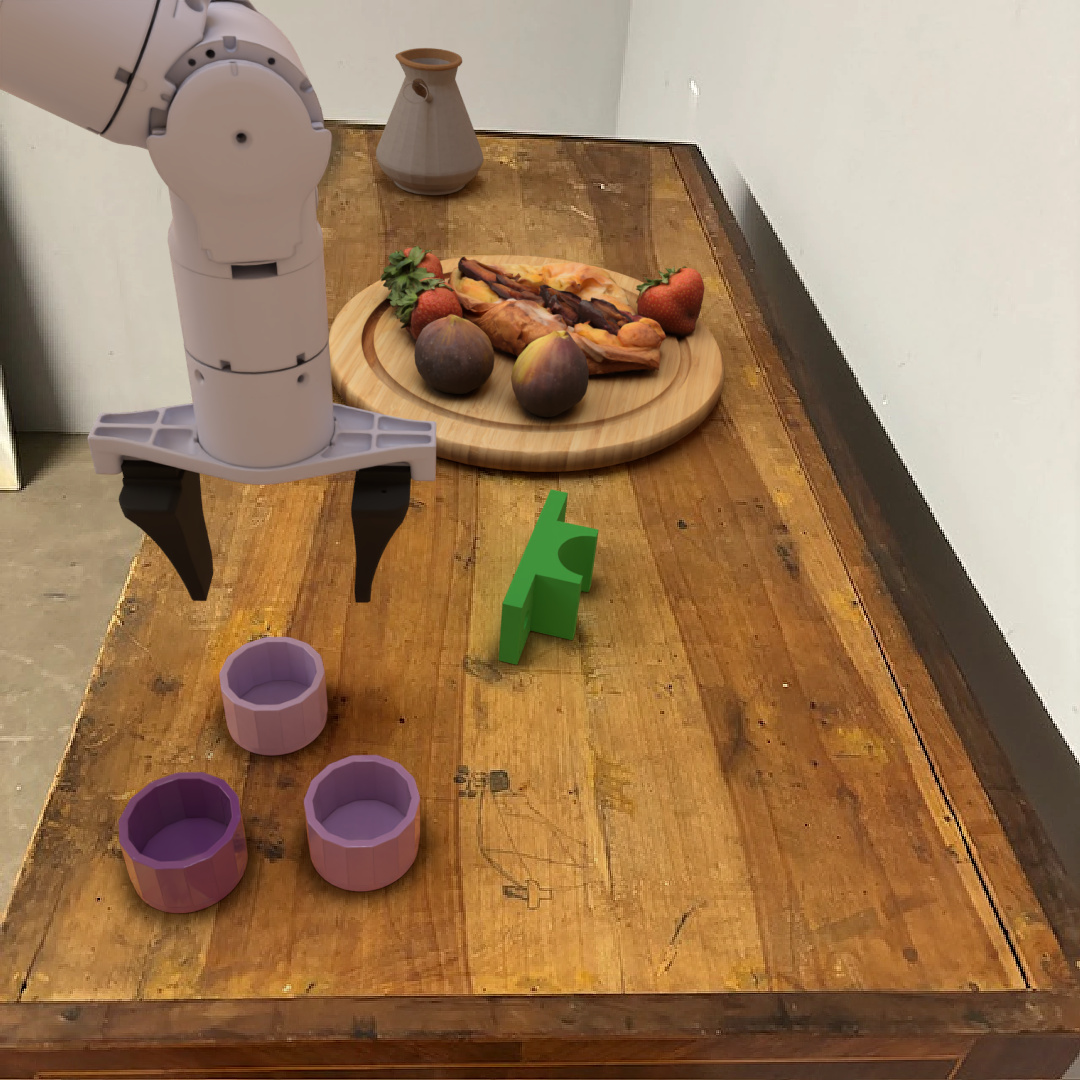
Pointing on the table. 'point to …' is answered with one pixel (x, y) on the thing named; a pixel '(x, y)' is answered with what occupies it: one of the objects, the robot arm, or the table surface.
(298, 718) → the lavender dish
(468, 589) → the table surface
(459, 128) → the coffee pot
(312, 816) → the mauve dish
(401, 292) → the wooden plate
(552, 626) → the pipe clamp
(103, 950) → the table surface
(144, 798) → the plum dish
